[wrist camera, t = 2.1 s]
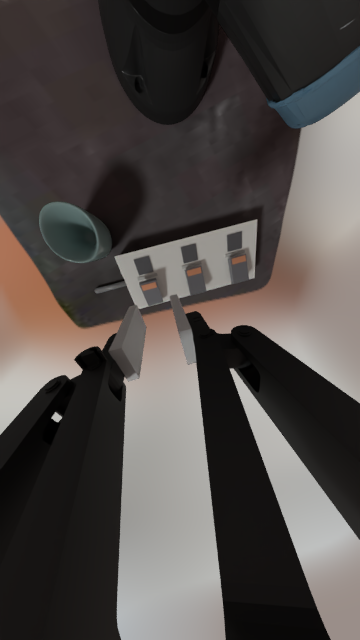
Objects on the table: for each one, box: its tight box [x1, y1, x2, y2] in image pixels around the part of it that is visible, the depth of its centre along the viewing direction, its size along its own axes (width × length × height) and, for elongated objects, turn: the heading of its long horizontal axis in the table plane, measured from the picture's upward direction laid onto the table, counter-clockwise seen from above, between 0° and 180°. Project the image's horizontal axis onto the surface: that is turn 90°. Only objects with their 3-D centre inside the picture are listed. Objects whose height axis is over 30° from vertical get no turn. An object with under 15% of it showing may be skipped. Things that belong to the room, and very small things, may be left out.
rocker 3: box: [228, 254, 249, 284], centre depth 30 cm, size 6×4×1 cm, turn 13°
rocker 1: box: [139, 278, 163, 306], centre depth 30 cm, size 6×4×1 cm, turn 12°
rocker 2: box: [184, 266, 206, 295], centre depth 30 cm, size 6×4×1 cm, turn 13°
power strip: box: [95, 219, 257, 309], centre depth 32 cm, size 12×39×4 cm, turn 103°
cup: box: [39, 202, 112, 263], centre depth 24 cm, size 8×8×10 cm
